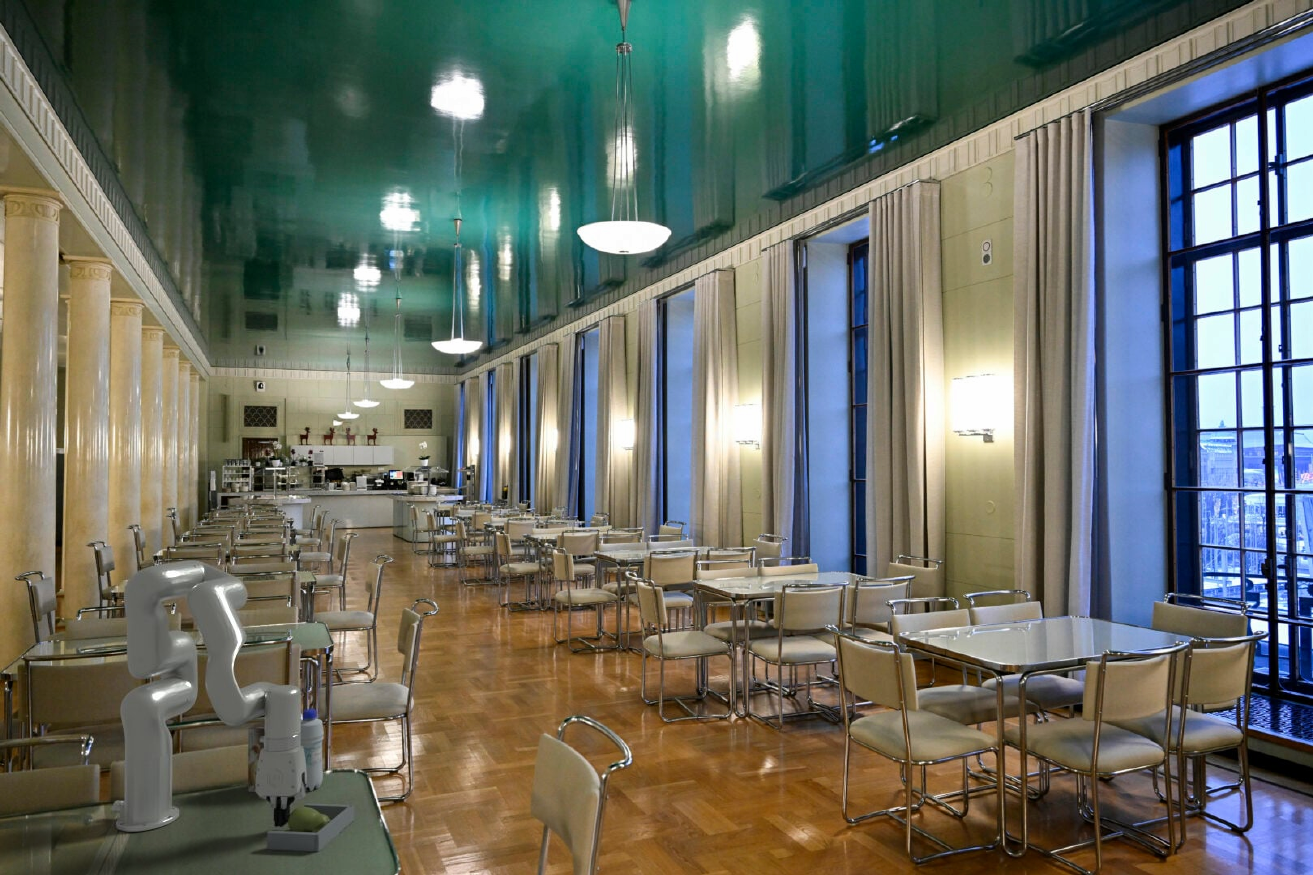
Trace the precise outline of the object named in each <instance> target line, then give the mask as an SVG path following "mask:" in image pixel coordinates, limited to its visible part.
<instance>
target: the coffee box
mask: <svg viewBox="0 0 1313 875" xmlns="http://www.w3.org/2000/svg"><path fill="white" fill-rule="evenodd" d="M264 735H265V720H264V721H263V720H262V721H261V722H258V723H256V724H254V725H252V726H250V727H249V728H247V764H248V765H247V773H248V774H247V776H248V778H247V780H248V781H247V784H248V785H247V791H248V793H249V792H251V793H256V773H257V765H258V760H259V755H260V751H261V749H263V748H264V743H263V742H260V737H261V736H264Z"/></svg>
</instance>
